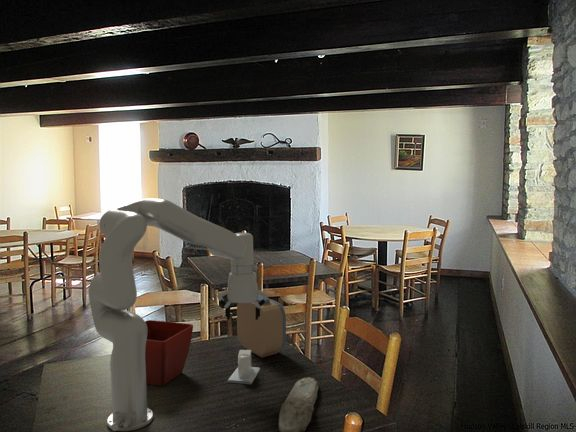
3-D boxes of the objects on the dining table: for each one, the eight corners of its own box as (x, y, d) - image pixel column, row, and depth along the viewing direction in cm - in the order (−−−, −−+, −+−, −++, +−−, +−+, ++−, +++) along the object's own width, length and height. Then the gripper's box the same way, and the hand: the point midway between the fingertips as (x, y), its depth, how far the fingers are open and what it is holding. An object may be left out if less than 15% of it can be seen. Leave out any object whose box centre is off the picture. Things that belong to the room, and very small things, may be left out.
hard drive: (250, 381, 170) (260, 367, 182) (227, 379, 171) (238, 365, 184) (250, 386, 170) (260, 371, 182) (227, 384, 172) (238, 369, 184)
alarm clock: (286, 355, 195) (286, 300, 192) (266, 361, 189) (265, 304, 187) (257, 341, 211) (256, 289, 209) (237, 346, 205) (236, 293, 203)
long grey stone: (324, 389, 169) (294, 388, 171) (323, 373, 169) (293, 373, 171) (309, 439, 135) (272, 438, 137) (308, 420, 135) (271, 419, 136)
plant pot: (149, 363, 188) (148, 318, 187) (195, 370, 182) (194, 324, 180) (116, 384, 170) (114, 335, 169) (165, 392, 164) (164, 341, 162)
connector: (249, 378, 172) (249, 358, 172) (237, 378, 172) (237, 358, 172) (251, 365, 183) (251, 346, 183) (240, 365, 183) (240, 346, 183)
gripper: (268, 267, 177) (268, 315, 179) (218, 267, 177) (219, 315, 179) (267, 271, 169) (267, 321, 171) (215, 271, 169) (216, 322, 171)
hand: (242, 318), depth 175 cm, fingers open, 9 cm apart
